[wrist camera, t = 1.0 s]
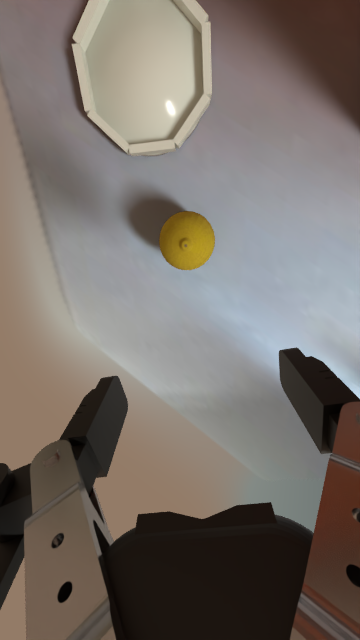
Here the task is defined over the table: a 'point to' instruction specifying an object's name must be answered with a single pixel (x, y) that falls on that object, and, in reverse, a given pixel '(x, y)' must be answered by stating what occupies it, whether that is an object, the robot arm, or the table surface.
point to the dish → (144, 71)
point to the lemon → (187, 240)
